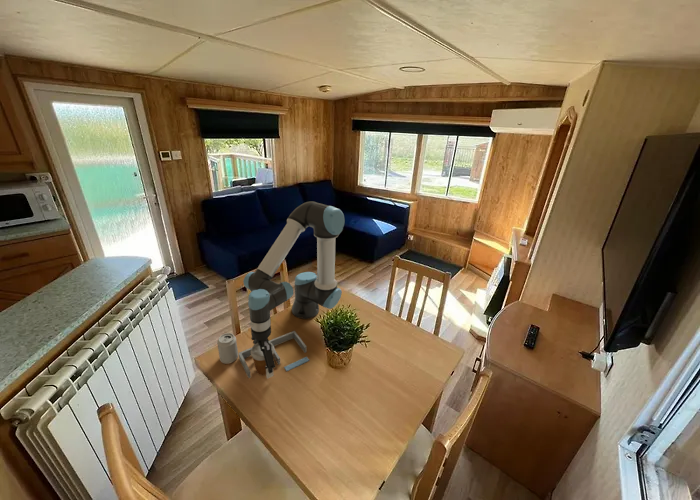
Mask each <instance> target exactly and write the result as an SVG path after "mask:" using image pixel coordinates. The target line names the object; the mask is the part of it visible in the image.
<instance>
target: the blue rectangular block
mask: <svg viewBox="0 0 700 500" xmlns="http://www.w3.org/2000/svg"><path fill="white" fill-rule="evenodd" d="M307 362H310V359H309V358H308V356H305V357H302V358H300V359H298V360H297V361H295V362H291V363H289V364H288V365H284V367H283V368H284V370H285V372H288V371H291V370H294V369H296V368H298V367H300V366H301V365H304V364H305V363H307Z"/></svg>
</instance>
